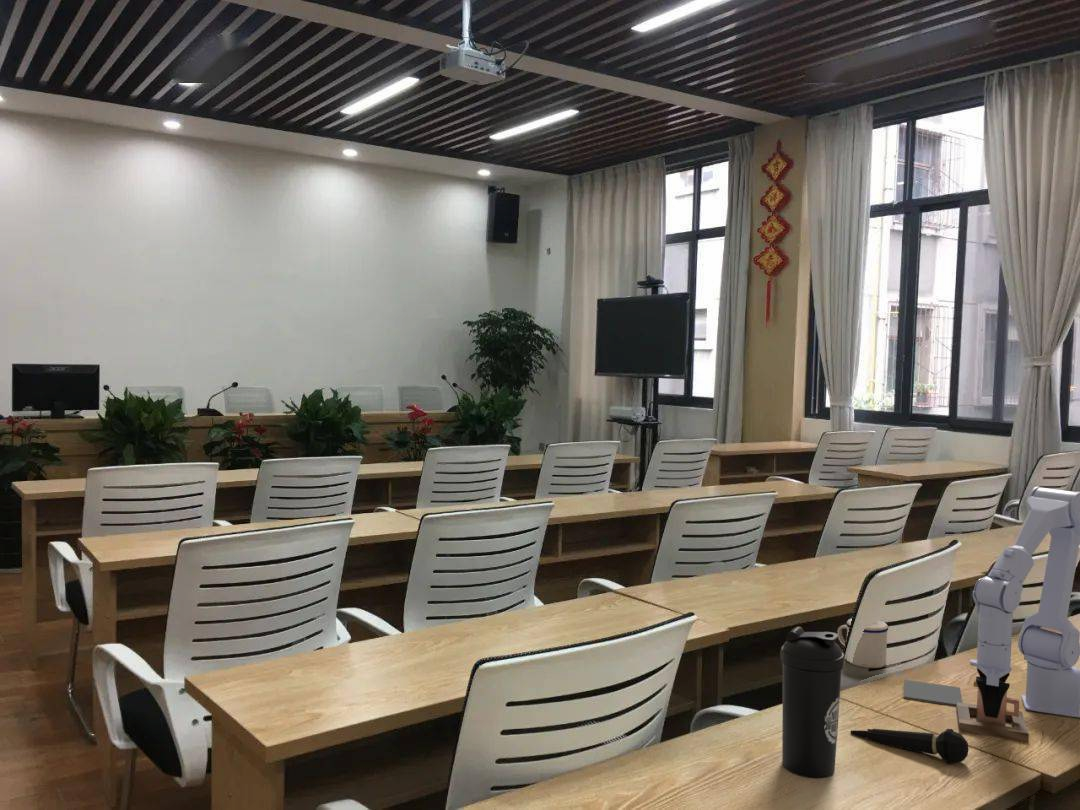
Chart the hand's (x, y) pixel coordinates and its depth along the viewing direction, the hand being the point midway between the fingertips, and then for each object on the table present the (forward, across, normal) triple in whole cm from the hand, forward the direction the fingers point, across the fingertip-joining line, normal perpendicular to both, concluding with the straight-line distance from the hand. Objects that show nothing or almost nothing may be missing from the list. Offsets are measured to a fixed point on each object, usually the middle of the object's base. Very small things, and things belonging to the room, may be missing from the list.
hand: (991, 711), depth 171 cm
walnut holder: (+2, 0, 0) cm, 2 cm away
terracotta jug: (+2, 0, 0) cm, 2 cm away
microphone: (+3, +20, -13) cm, 23 cm away
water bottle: (+3, +36, -27) cm, 45 cm away
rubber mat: (+2, -12, -11) cm, 17 cm away
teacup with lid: (+3, -27, -27) cm, 38 cm away
